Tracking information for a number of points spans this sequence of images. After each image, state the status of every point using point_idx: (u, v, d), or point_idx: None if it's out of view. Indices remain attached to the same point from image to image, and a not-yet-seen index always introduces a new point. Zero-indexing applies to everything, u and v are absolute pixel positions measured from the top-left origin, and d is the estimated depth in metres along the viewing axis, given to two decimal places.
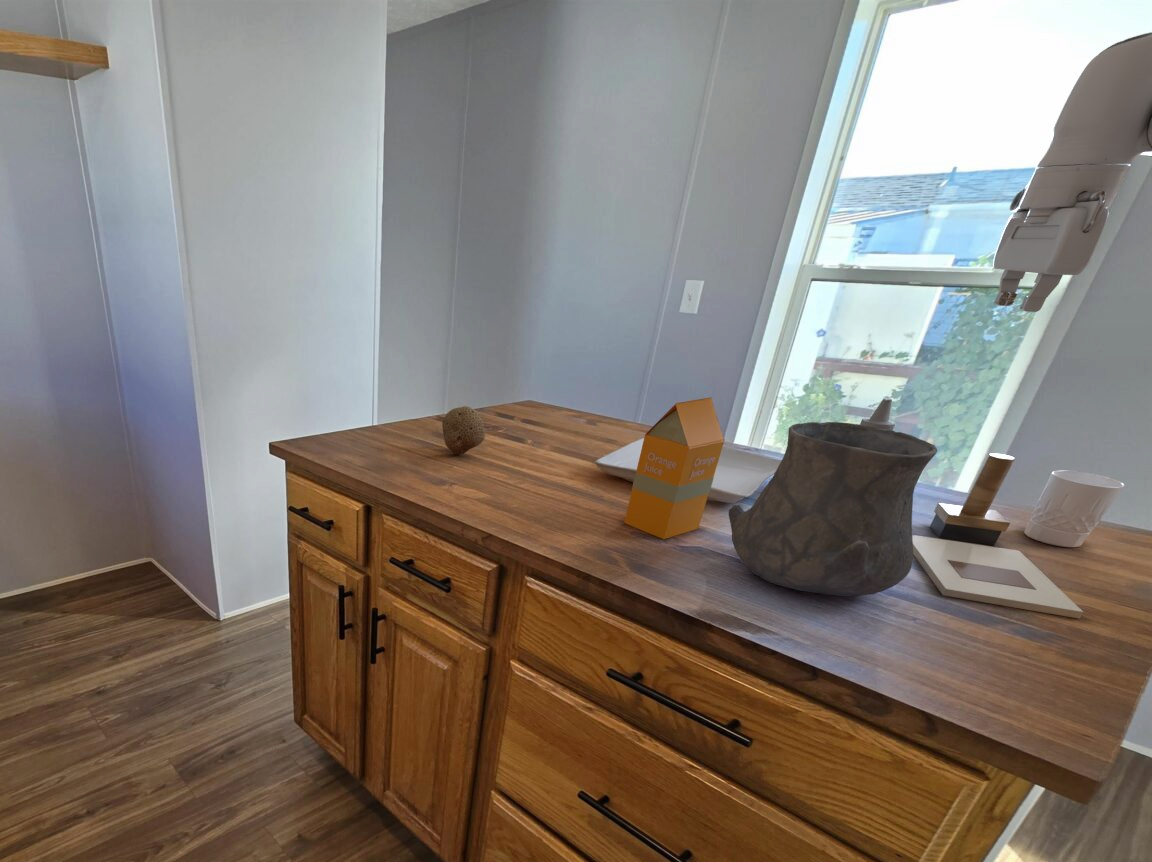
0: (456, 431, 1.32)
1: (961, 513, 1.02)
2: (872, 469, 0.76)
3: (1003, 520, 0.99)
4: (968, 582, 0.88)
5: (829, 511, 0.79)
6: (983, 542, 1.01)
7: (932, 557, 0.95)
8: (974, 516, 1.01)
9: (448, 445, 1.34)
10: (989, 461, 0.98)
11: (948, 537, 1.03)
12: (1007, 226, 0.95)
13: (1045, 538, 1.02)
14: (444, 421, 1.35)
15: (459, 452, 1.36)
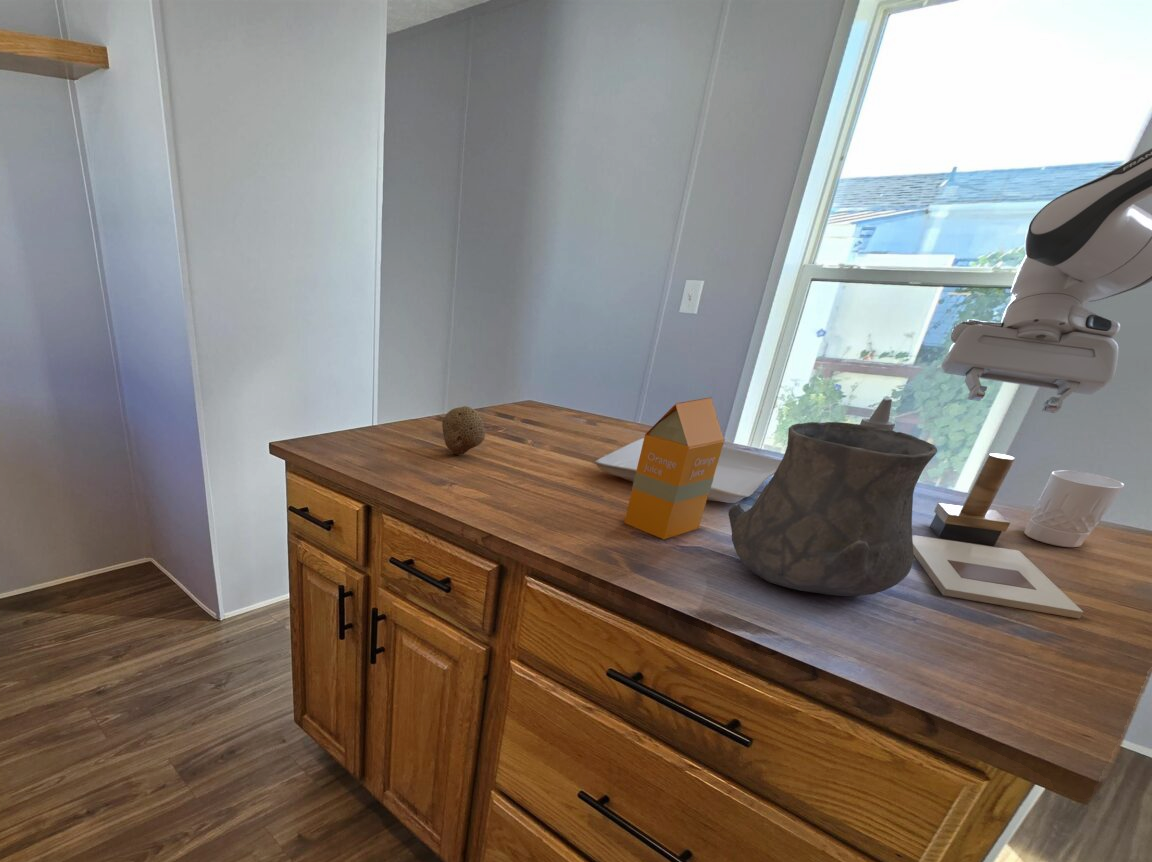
0: (456, 431, 1.32)
1: (961, 513, 1.02)
2: (872, 469, 0.76)
3: (1003, 520, 0.99)
4: (968, 582, 0.88)
5: (829, 511, 0.79)
6: (983, 542, 1.01)
7: (932, 557, 0.95)
8: (974, 516, 1.01)
9: (448, 445, 1.34)
10: (989, 461, 0.98)
11: (948, 537, 1.03)
12: None
13: (1045, 538, 1.02)
14: (444, 421, 1.35)
15: (459, 452, 1.36)
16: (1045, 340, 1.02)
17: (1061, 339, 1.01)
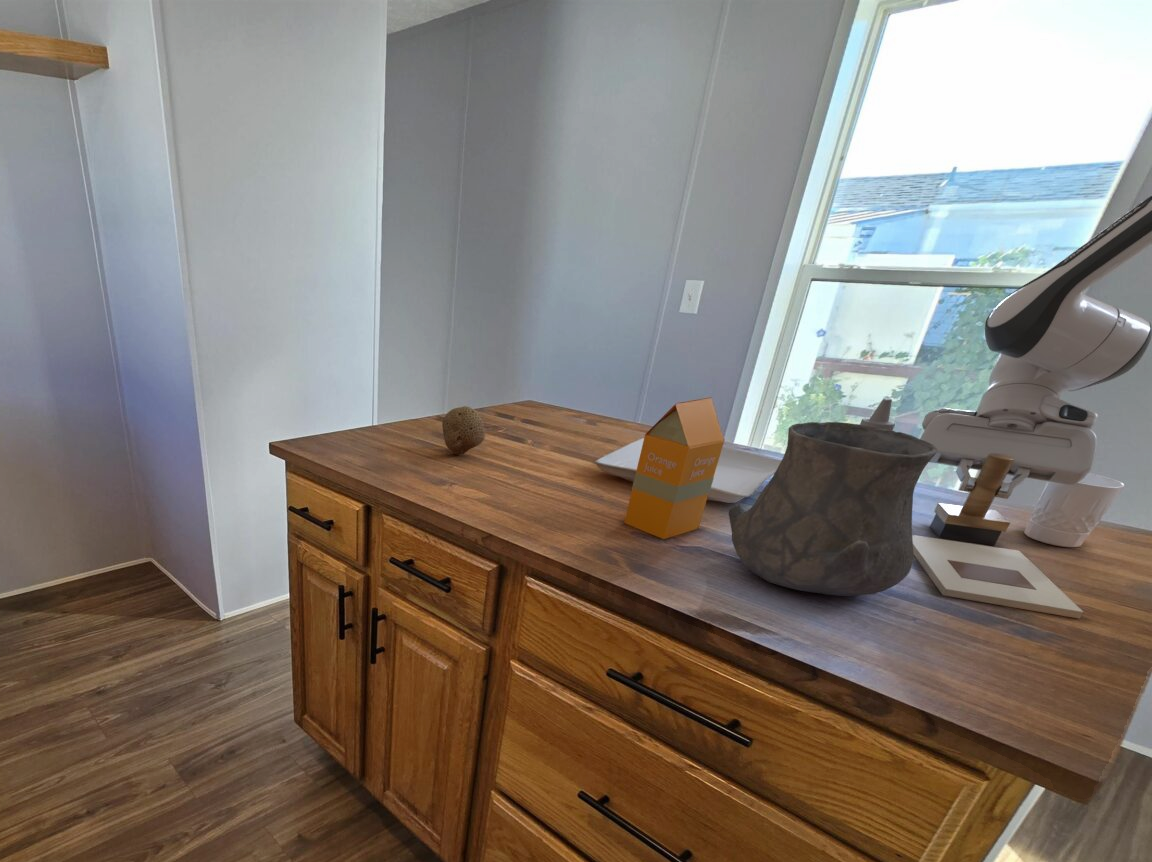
0: (456, 431, 1.32)
1: (961, 513, 1.02)
2: (872, 469, 0.76)
3: (1003, 520, 0.99)
4: (968, 582, 0.88)
5: (829, 511, 0.79)
6: (983, 542, 1.01)
7: (932, 557, 0.95)
8: (974, 516, 1.01)
9: (448, 445, 1.34)
10: (989, 461, 0.98)
11: (948, 537, 1.03)
12: None
13: (1045, 538, 1.02)
14: (444, 421, 1.35)
15: (459, 452, 1.36)
16: (1018, 429, 0.99)
17: (1035, 429, 0.99)
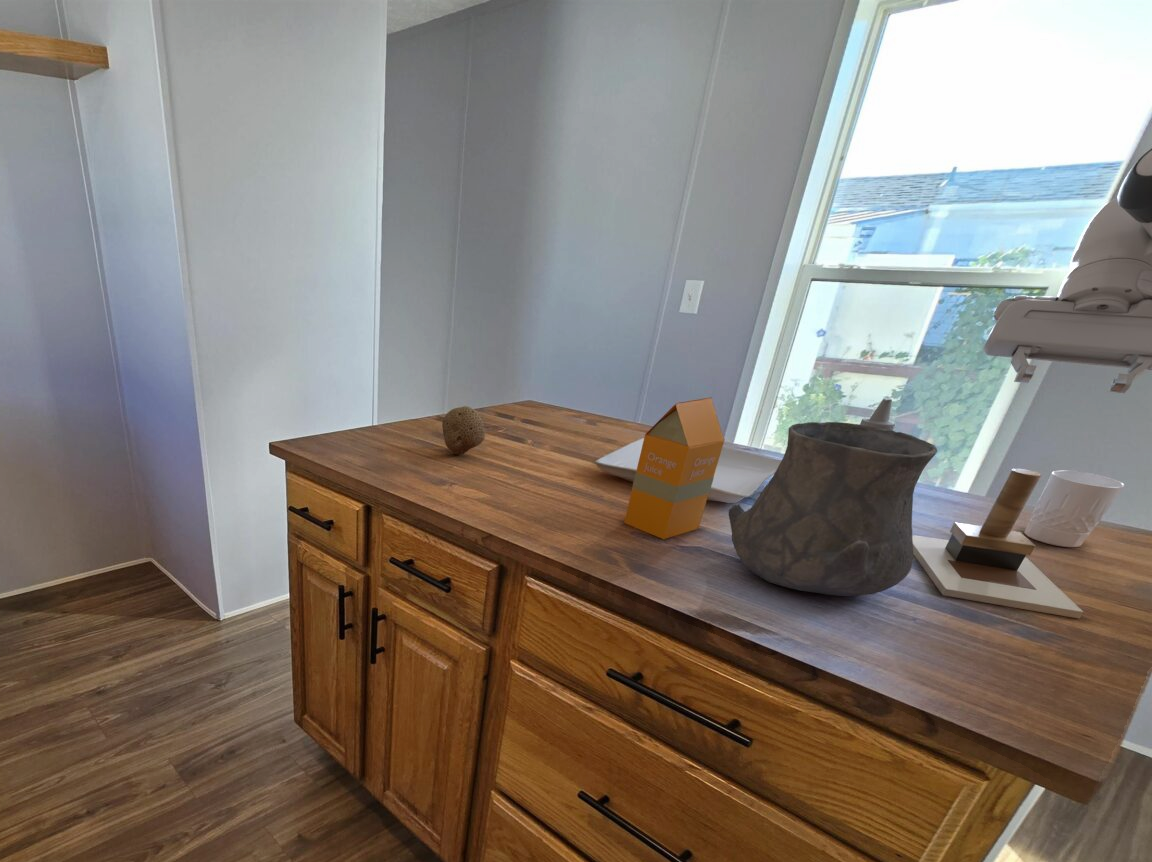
0: (456, 431, 1.32)
1: (981, 534, 0.92)
2: (872, 469, 0.76)
3: (1028, 543, 0.89)
4: (968, 582, 0.88)
5: (829, 511, 0.79)
6: (1005, 566, 0.91)
7: (932, 557, 0.95)
8: (995, 538, 0.91)
9: (448, 445, 1.34)
10: (1012, 477, 0.88)
11: (965, 560, 0.93)
12: None
13: (1045, 538, 1.02)
14: (444, 421, 1.35)
15: (459, 452, 1.36)
16: (1109, 311, 0.87)
17: (1130, 309, 0.86)
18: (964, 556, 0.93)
